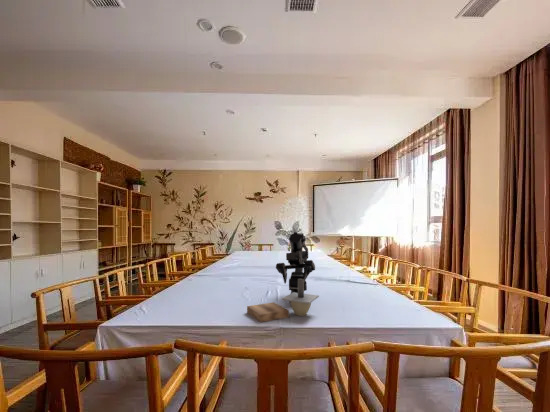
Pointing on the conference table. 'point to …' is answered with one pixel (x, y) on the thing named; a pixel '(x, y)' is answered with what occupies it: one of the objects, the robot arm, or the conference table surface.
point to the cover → (300, 294)
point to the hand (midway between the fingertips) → (294, 282)
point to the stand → (267, 312)
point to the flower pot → (300, 308)
